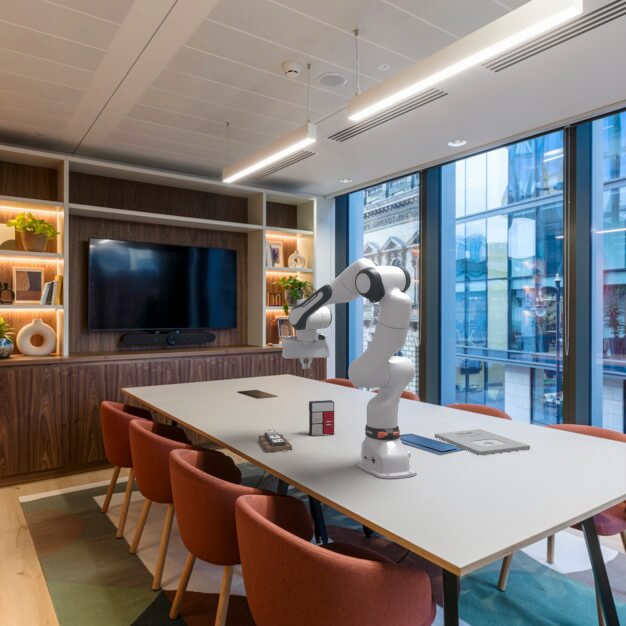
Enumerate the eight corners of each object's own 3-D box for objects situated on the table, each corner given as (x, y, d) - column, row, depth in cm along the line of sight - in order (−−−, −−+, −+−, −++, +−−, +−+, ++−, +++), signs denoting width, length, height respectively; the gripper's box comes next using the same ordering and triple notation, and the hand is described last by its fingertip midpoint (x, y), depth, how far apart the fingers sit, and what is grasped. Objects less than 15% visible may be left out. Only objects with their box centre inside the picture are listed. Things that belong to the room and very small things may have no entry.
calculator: (311, 436, 219) (311, 402, 219) (308, 434, 223) (308, 401, 223) (334, 435, 222) (334, 401, 222) (332, 432, 226) (332, 400, 226)
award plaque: (480, 433, 226) (480, 429, 226) (530, 450, 198) (530, 445, 198) (434, 438, 218) (434, 433, 218) (479, 457, 190) (479, 451, 190)
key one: (280, 441, 203) (280, 437, 203) (270, 442, 201) (270, 437, 201) (278, 439, 206) (278, 434, 206) (269, 439, 205) (269, 435, 205)
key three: (283, 445, 197) (283, 440, 197) (273, 446, 196) (273, 441, 196) (281, 442, 201) (281, 438, 201) (271, 443, 200) (271, 438, 200)
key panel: (291, 450, 196) (291, 442, 196) (267, 452, 193) (267, 443, 193) (281, 438, 214) (281, 431, 214) (258, 440, 212) (258, 432, 212)
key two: (277, 435, 208) (277, 431, 208) (268, 436, 207) (268, 431, 207) (275, 433, 212) (275, 429, 212) (266, 433, 211) (266, 429, 211)
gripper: (283, 336, 204) (283, 370, 204) (330, 336, 209) (330, 368, 209) (280, 336, 210) (280, 368, 210) (326, 335, 216) (326, 367, 216)
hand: (306, 368), depth 210 cm, fingers closed
